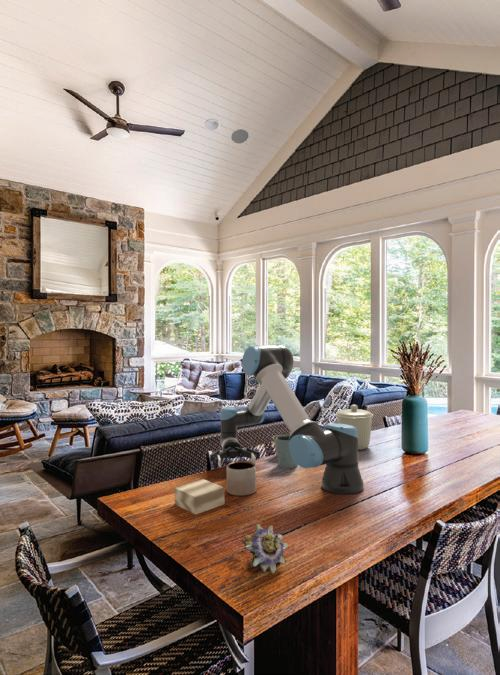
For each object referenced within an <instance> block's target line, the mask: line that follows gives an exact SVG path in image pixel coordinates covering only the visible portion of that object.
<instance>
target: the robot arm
mask: <svg viewBox="0 0 500 675" xmlns="http://www.w3.org/2000/svg"><path fill="white" fill-rule="evenodd" d="M241 362H242V369H243V372H244V373H245V375H247V376H250V377H251V376H253V377H254V379H255V380H256V382H257V383H258V384H260V385H259V387H258V389H257V390H256V392H255V393H254V395H253V397H252V399H251V401H250V403H249V404H248V406H247V408H245V409H239V410H238V409H237V407H234V406H225V407H222V408H221V409H220V414H219V416H220V417H219V418H220V439H219V443H220V446H221V448H222V450H221V449H220V448H217V449H216V450H215V451H214V452H212V453H211V454H210V455H209V462H214V464H217V465H218V467H219V468H222V460H224V459H236V458H246V459H251V462H252V463H254V464H255V465H256V466H257V461H258V460H260V457H261V456H260V455H261V452H260V451H257V450H254V449H253V448H250V447H248V446H246V447H245V448H242V447H241V444H240V443H239V440H238V428H241V427H247V426H253V425H258V424H262V423H263V422H264V421H265V417H266V416H265V410H266V409H267V407H268V405H269V403H270V402H271V401H272V403H273V404H274V406H275V408H276V410H277V412H278V413H279V415H280V417H281V418H282V420H283V421H284V423H285V426H286V428H288V431H289V433H290V434H289V435H290V436H289V439H290V442H289V449H290V451H289V452H290V455H291V457H292V459H293V460H294V462H295V463H296V464H297V465H298V466H299V467H300V468H304V469H312V468H313V469H314V468H315V469H316V468H318V467H320V466H324V465H325V468H324V472H323V475H322V478H321V488H322V490H324V491H327V492H330V493H333V494H336V495H337V494H339V495H351V494H352V495H353V494H358V493H361V492H362V491H363V490H364V488H365V487H364V480H363V478H362V474H361V471H360V468H359V450H358V435H357V429H356V428H355V427H354V426H351V425H346V424H338V422H336V423H335V422H331V423H330V422H329V423H325V426H324V429H321V427H320V425H319V423H318V422H317V421H313V420H311V418H310V417H309V414H307V412H306V410H305V409H304V407H303V405H302V403H301V402H300V400H299V399H298V398H297V396H296V394H295V392H294V391H293V389H292V387H291V386H290V384H289V383H288V381H287V379H288V377H289V376H290V375H291V372H292V370H293V368H294V363H295V362H294V356H293V353H292V352H291V350H290V349H289V348H288V347H286V346H285V345H282V344H268V345H266V344H265V345H263V344H261V345H258V344H257V345H252V346H248V347H247V348H245V350H244V352H243V356H242V361H241Z"/></svg>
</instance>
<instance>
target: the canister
mask: <svg viewBox="0 0 500 675" xmlns="http://www.w3.org/2000/svg"><path fill="white" fill-rule="evenodd" d="M335 416H336V423H337V424H346V425H351V426H354V427H355V428H356V429H357V435H358V451H361V450H365V449H367V448H368V447H369V445H370V442H371V441H370V440H371V434H372V423H373V422H372V421H373V420H372V419H373V417H374V414H373V413H372V412H371V411H369V410H365V409H361V408H360V409H359V407H358V405H357V404H351V405H350V406H349V408H348V409H347V408H345V409H341V410H339V411H338V412H336V413H335Z"/></svg>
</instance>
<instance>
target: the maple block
mask: <svg viewBox="0 0 500 675" xmlns="http://www.w3.org/2000/svg"><path fill="white" fill-rule="evenodd" d="M174 505H175V506H177V507H179V508H181V509H183V510H186V511H188V512H189V513H191V514H193V515H195V516H197V515H198V514H201V513H204V512H208V511H209V510H212V509H215V508H218V507H220V506H223V505H225V487H224V486H222V485H219V484H217V483H214V482H211V481H209V480H206V479H205V478H204V479H198V480H196V481H192V482H190V483H189V482H188V483H186V484H182V485H179V486H177V487H174Z"/></svg>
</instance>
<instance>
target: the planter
mask: <svg viewBox="0 0 500 675" xmlns="http://www.w3.org/2000/svg"><path fill="white" fill-rule="evenodd" d="M256 466H257V464H256V465H255V464H254V463H253V462H252V461H247V460H239V461H232V462H229V463H228V464H226V468H225V469H226V492H227V493H228V494H230V495H231V496H234V497H235V496H236V497H248V496H250V495H253V494H255V492H257V470H256V469H257V467H256Z"/></svg>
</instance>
